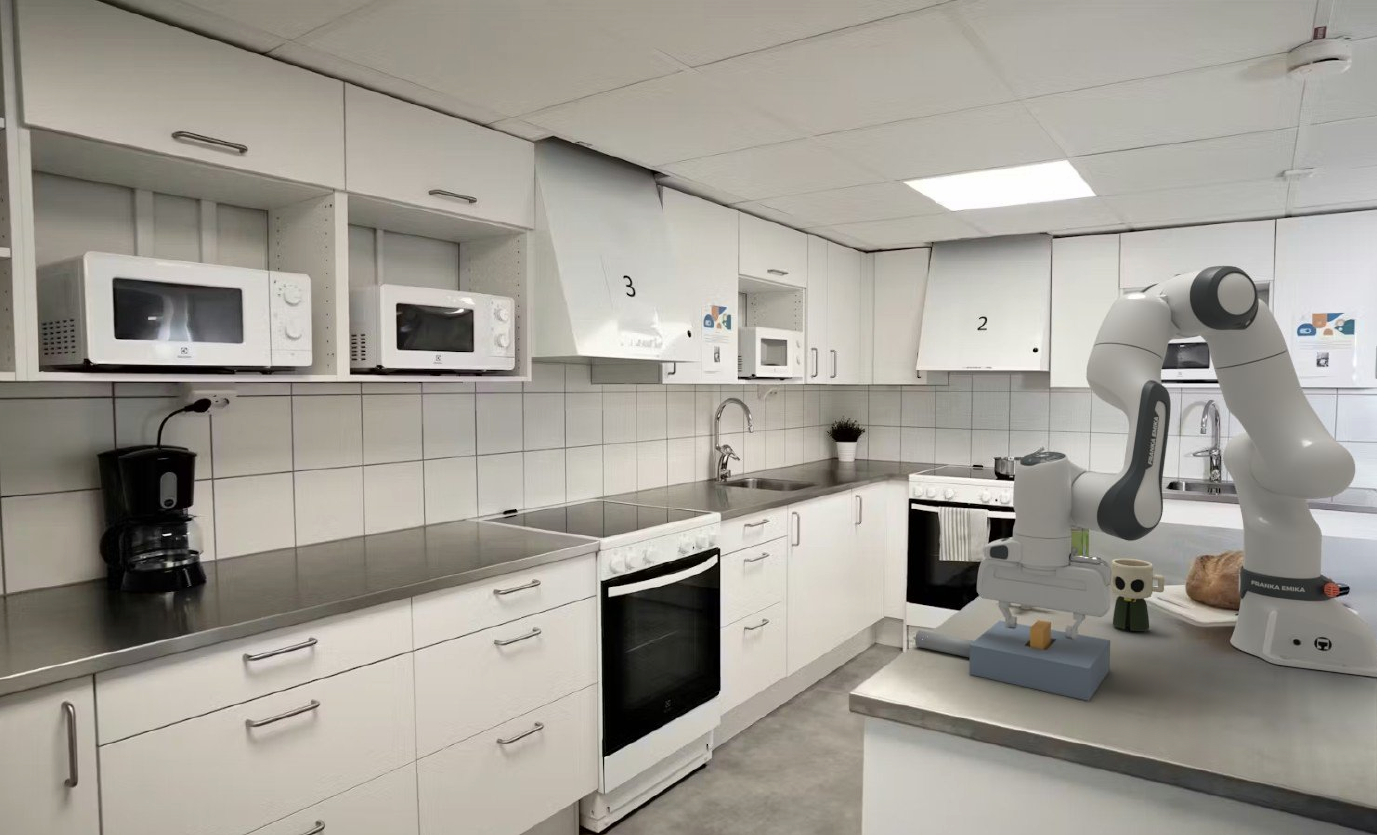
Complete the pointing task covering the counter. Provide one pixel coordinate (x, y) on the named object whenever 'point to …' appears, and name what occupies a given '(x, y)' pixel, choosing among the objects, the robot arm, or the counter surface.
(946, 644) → the blue holed block
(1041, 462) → the robot arm
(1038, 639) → the orange rectangular block
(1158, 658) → the counter surface
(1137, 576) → the character mug
